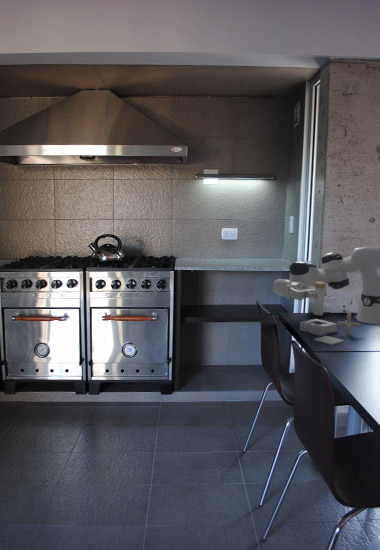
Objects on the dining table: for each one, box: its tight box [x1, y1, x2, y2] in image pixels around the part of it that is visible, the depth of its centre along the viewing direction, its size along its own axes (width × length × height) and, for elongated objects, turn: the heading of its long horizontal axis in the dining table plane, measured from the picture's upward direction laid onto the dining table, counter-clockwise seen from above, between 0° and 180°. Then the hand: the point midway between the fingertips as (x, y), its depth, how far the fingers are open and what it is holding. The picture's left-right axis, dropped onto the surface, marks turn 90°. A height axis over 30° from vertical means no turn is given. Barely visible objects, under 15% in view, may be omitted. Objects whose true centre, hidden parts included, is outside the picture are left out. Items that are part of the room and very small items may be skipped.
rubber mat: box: [313, 335, 345, 346], centre depth 196 cm, size 9×9×1 cm
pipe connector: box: [336, 312, 361, 336], centre depth 206 cm, size 10×10×10 cm
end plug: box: [312, 282, 327, 316], centre depth 210 cm, size 5×5×15 cm
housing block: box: [299, 318, 338, 337], centre depth 212 cm, size 12×12×4 cm
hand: (320, 295), depth 209 cm, fingers closed on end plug, 4 cm apart
